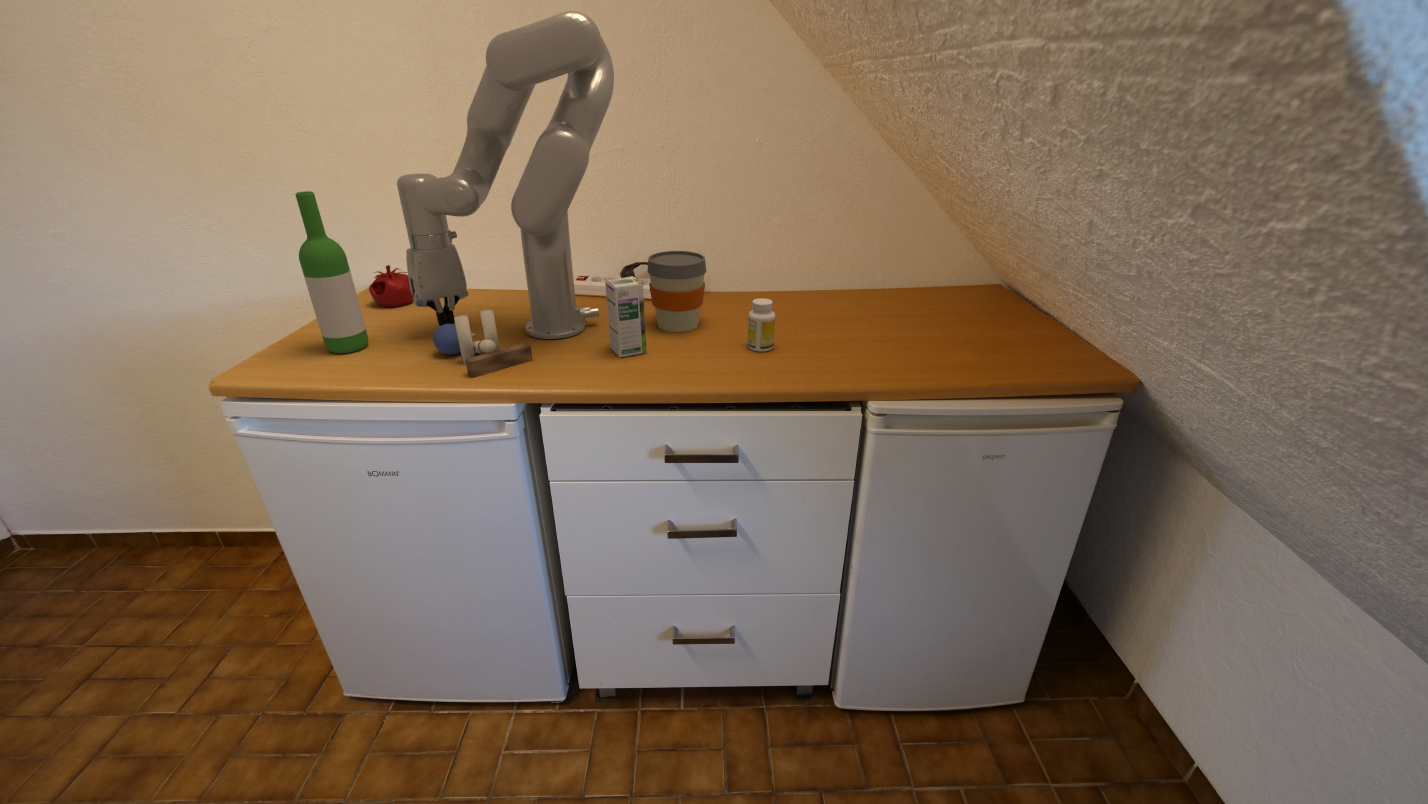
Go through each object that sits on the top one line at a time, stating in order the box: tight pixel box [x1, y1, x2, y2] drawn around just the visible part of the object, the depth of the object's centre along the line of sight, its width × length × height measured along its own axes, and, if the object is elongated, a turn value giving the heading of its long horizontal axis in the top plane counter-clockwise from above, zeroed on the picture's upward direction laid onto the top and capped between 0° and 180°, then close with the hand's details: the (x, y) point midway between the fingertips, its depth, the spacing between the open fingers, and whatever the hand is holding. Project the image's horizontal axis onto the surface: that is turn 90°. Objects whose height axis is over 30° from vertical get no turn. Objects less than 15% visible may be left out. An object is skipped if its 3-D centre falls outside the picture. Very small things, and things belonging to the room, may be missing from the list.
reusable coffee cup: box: [647, 250, 707, 333], centre depth 135 cm, size 12×13×15 cm
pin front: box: [472, 339, 496, 355], centre depth 120 cm, size 2×2×9 cm
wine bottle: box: [294, 190, 369, 354], centre depth 119 cm, size 8×8×30 cm
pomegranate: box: [368, 264, 414, 308], centre depth 148 cm, size 10×10×9 cm
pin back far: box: [454, 314, 476, 365], centre depth 118 cm, size 2×2×9 cm
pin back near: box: [479, 308, 501, 353], centre depth 121 cm, size 2×2×9 cm
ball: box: [432, 324, 461, 356], centre depth 122 cm, size 6×6×6 cm
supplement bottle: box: [747, 298, 776, 353], centre depth 126 cm, size 5×5×10 cm
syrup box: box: [604, 276, 647, 359], centre depth 122 cm, size 6×6×14 cm
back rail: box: [465, 342, 534, 379], centre depth 118 cm, size 12×2×3 cm, turn 132°
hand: (447, 328), depth 132 cm, fingers closed
